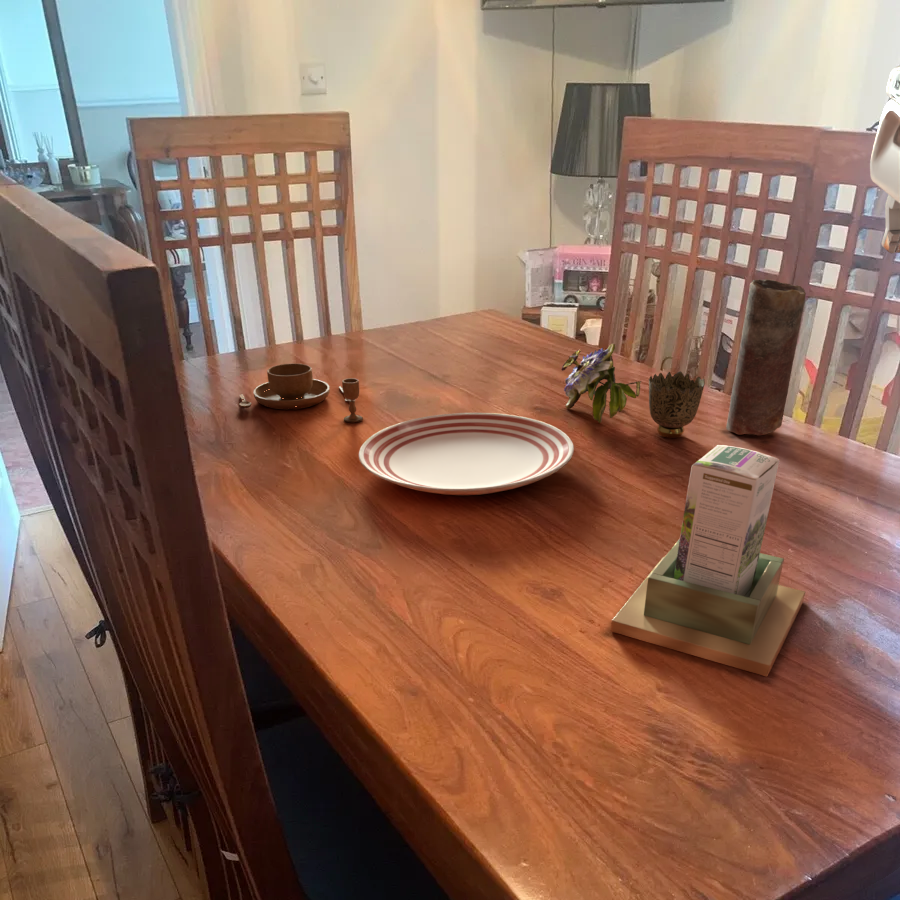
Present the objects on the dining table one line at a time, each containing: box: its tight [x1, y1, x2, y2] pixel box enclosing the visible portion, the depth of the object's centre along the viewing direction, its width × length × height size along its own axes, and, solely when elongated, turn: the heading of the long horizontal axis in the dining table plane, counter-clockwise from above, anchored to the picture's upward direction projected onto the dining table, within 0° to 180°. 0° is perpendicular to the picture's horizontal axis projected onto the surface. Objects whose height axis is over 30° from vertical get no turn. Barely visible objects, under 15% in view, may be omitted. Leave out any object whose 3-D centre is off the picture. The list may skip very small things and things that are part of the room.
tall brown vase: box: [725, 278, 807, 436], centre depth 117 cm, size 8×7×20 cm
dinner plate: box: [358, 412, 575, 496], centre depth 111 cm, size 27×27×3 cm
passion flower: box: [560, 343, 642, 424], centre depth 129 cm, size 11×11×12 cm
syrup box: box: [674, 444, 781, 598], centre depth 76 cm, size 6×6×14 cm
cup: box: [648, 371, 706, 439], centre depth 119 cm, size 8×7×8 cm
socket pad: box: [610, 538, 806, 677], centre depth 79 cm, size 14×14×5 cm
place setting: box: [238, 362, 364, 424], centre depth 132 cm, size 18×20×6 cm
